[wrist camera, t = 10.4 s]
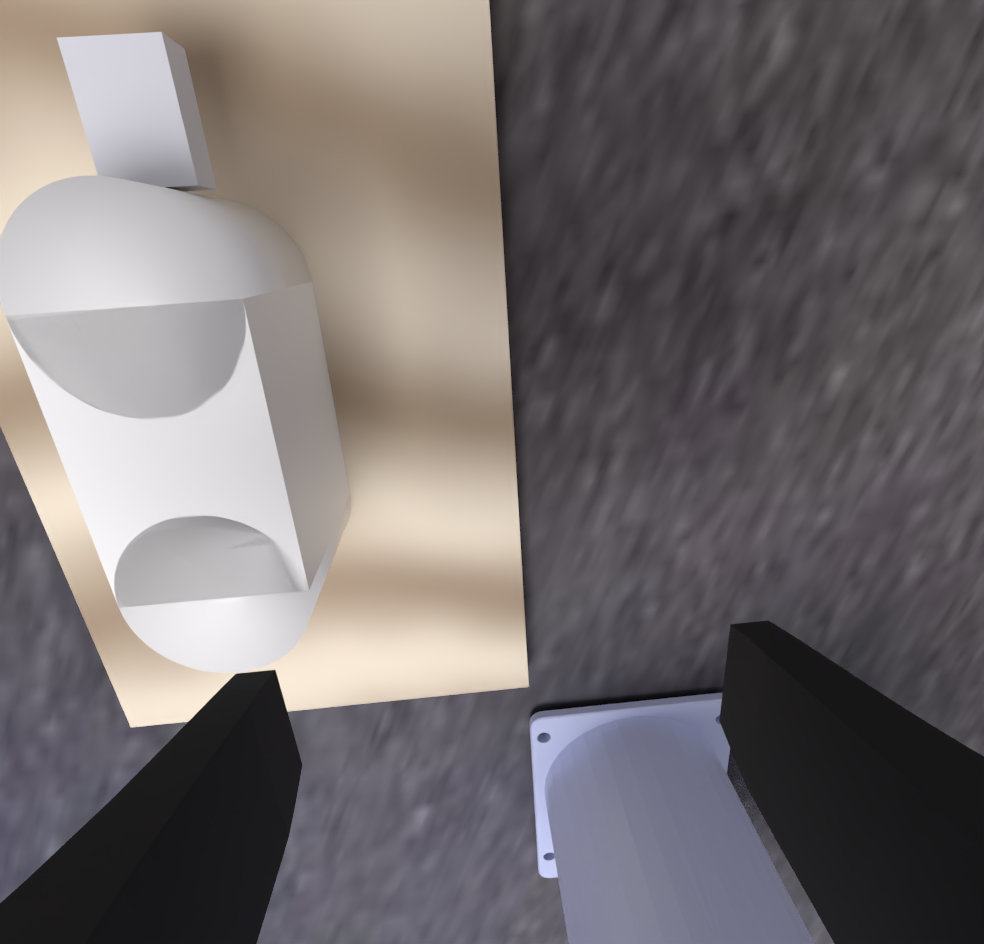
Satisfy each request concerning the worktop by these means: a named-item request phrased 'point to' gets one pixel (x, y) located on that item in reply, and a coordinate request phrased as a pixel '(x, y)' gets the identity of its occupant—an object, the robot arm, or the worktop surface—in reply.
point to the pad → (327, 321)
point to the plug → (178, 370)
